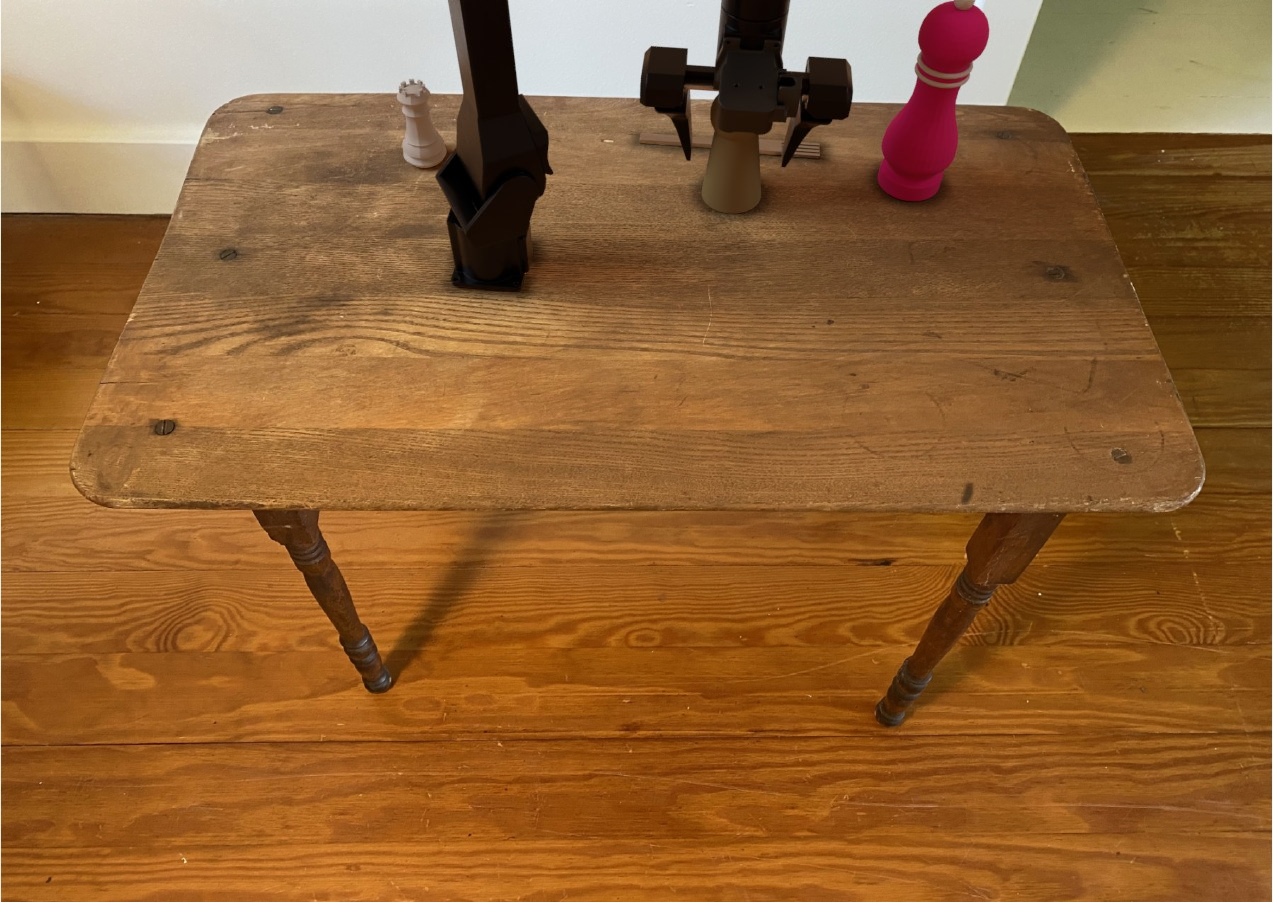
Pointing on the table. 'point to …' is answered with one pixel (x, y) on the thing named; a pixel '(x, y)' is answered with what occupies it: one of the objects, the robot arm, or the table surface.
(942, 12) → the pepper mill
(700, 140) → the fork
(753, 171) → the tan cone-shaped piece
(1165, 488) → the table surface
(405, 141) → the rook chess piece
